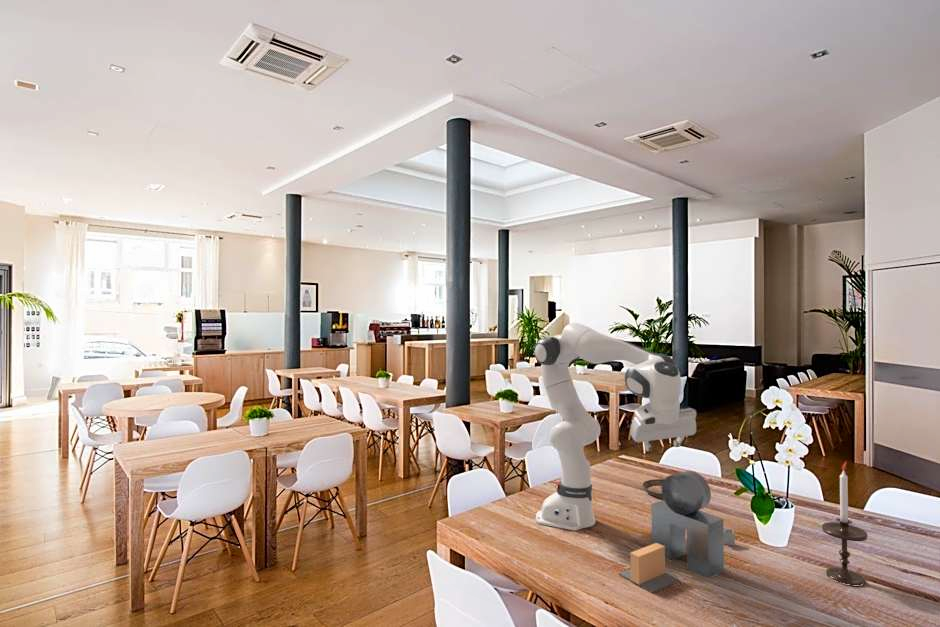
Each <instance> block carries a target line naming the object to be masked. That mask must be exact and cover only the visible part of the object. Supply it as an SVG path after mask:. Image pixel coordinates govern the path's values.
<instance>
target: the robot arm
mask: <svg viewBox="0 0 940 627" xmlns="http://www.w3.org/2000/svg"><path fill="white" fill-rule="evenodd" d="M533 352H534V356H535V359H536V360H537V362H538V364H540V365H541V366H540V371H541V372H540V373H541V377H542V382H543V387H544V389H545V392H546V395H547V398H548V401H549V403H550V404H549V405H550V406H551V408H552V410H554V411H555V412H557V414H559V416H560V417H561V419H562V420H563V421H560V422H558V423H557V424H555V425H554V426H553V427H552V428H551V429H550V431H549V436H548V438H549V442H550V444H551V446H552V447H553V448H554V449H555V450H556V452H557V454H558V456H559V457H558V458H559V462H560V470H561V472H560V475H561V478H560V479H558V480H557V481H555V491H554V493H552V494H550V495H549V496H547V497H546V498H545V499H544V500H543V503H542V505H541V509H540V510H538V511H537V513H536V514H535V522H536V523H537V524H539V525H544V526H550V527H555V528H560V529H565V530H569V531H579V530H581V529H586V528H590V527H593V526H594V525H596V519H595V514H594V510H593V504H592V502H593V486H592V483H591V482H592V478H591V476H592V474H591V473H592V469H591V468H592V467H591V466H592V465H591V463H590V461H589V460H588V459H587V458H586V456H585V452H584V447H585V446H588V445H590V444H593V443H594V442H595V441H597V439H598V438H599V437H600V435H601V425H600V423H599V422H598V420H597V419H596V418H595V417H593V416H591V414H590V413H589V412H588V411H587V409H586V408H585V405H584V404H583V403H582V402H581V400H580V398H579V395H578V392H577V389H576V387H575V384H574V382H573V380H572V376H571V373H570V371H569V366H570V364H573V365H574V364H576V363H577V362H578V360H580V359H582V360H583V361H585V362H587V363H590V364H595V365H596V364H597V365H598V364H603V363H608V362H613V361H627V362H630V363H632V364H634V365H632V366H631V367H629V368H628V369H626V371H625V373H624V382H625V386H626V388H627V390H628V391H629V392H630V393H632V394H633V395H636V396H638V397H641V398H644V399H649V402H647V403H645V404H644V405H642V406H639V407H637V408H635V409H634V411H633V414H634V417H633V419H632V421H631V426H630V436H631V439H632V440H633V441H634V442H636V443H644V447H645V451H646V452H651V451H652V450H653V446H652V445H651V443H649V442H652V441H658V440H665V439H672V438H676V439H674V440H673V446H674V447H675V448H680V447H681V444H682V442H683V441H684V439H685V437H689V436H694V435H695V434H696V433H697V422H696V418H697V410H696V409H695V408H692V407H687V408H680V407H681V406H680V405H681V403H680V396H681V391H682V390H681V389H682V379H681V378H682V377H681V373H680V371H679V370H680V369H679V368H678V365H677V363H676V361H675V360H674V359H673V358H672V357H670V355H667V354H664V353H656V352H653V351H650V350H648V349H646V348H644V347H641V346H638V345H636V344H633V343H631V342H629V341H627V340H624V339H620V338H615V337H612V336H608V335H605V334H603V333H601V332H598V331H596V330H595V329H593V328H591V327H589V326H586V325H584V324H581V323H578V322H570V323H569V324H567V325H566V326H565V327H564V328H563V330H562V332H561V333H558V334H555V335H551V336H547V337H546V336H545V337H544V338H541V339H539V340H537V341H536V343H535V344H534V348H533ZM652 452H653V451H652Z"/></svg>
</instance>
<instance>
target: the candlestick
mask: <svg viewBox="0 0 940 627" xmlns="http://www.w3.org/2000/svg"><path fill="white" fill-rule="evenodd" d="M847 464H848V463H847V461H845V462H844V463H843V465H842V466H841V469H842V472H841V474H840V475H839V505H840V506H839V514H840V515H839V517H838V518H836V519H835V520H836V521H837V522H835V521H833V522H824V523H822V524H821V531H822V532H823V533H825V534H827V535H829V536H830V537H833V538H836V539H839V540H841V549H840V550H838V554H839V555H840V556H841V558H839V562H840V563H841V568H840V567H830V568H827V569H826V571H825V574H827V575H826V576H828V577H830V578H831V579H833V580H836V581H838V582H841V583H845V584H850V585H861V584H863V583H864V584H865V578H864V577H863V576H862V575H860V574H858V573H857V572H854V571H851V570H849V569H848V566H849V565H850V563H851V562H850V561H849V558H850V556H851V552H850V551H848V542H850V541H851V542H864V541H867V540H868V533H867V531H865V530H864V529H862V528H861V527H857V526H855V525H852V524H853V521H852V520H850V519H849V495H848V494H849V493H848V492H849V491H848V490H849V489H848V487H849V486H848V483H849V482H848V481H849V480H848V475H846V474H847V473H846V467H847ZM828 577H827V578H828ZM830 578H829V579H830ZM831 579H830V580H831ZM833 580H832V581H833Z"/></svg>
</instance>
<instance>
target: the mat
mask: <svg viewBox="0 0 940 627" xmlns="http://www.w3.org/2000/svg"><path fill="white" fill-rule="evenodd" d="M618 576H620V577H622V578H624V579H626V580H628V581H629V580H630V582H631V583H633V584H634V585H637V583H635V582H633V581H632V580H631V570H630V568H629V569H627V570H624V571H621V572H620V573H618ZM677 582H680V579H679V578H678V577H675V576H673V575H671V574H669V573H667V572H665V573H664V574H662V575H659V576H657V577H655V578H653V579H650V580H648V581H646V582H643V583H641V584H638V585H640V586H642V587H644V588H645V589H644V588H643V589H644V590H646V589H647V590H646V591H648V590H649V591H648V592H650V591H651V592H654V591H656V590H658V591H660V590H662V589H664V587H665V588H666V586H667V587H669V586H671V585H673V584H675V583H677ZM638 585H637V586H638ZM668 585H669V586H668ZM640 586H639V587H640ZM642 587H641V588H642ZM661 588H662V589H661ZM659 589H660V590H659ZM651 592H650V593H651ZM656 592H657V591H656ZM654 593H655V592H654Z"/></svg>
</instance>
